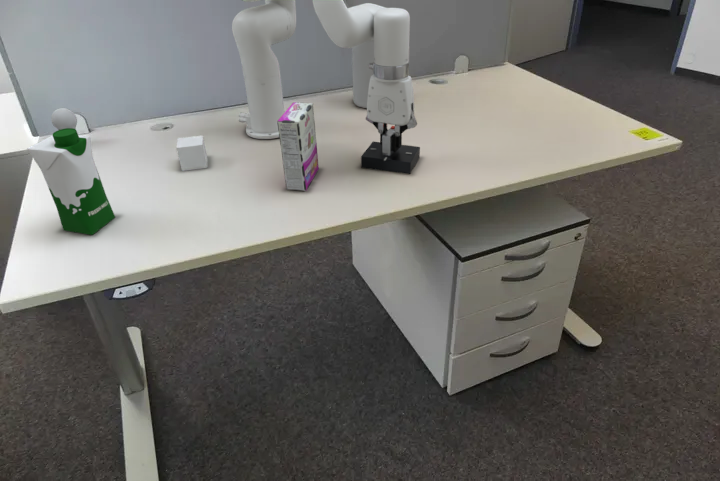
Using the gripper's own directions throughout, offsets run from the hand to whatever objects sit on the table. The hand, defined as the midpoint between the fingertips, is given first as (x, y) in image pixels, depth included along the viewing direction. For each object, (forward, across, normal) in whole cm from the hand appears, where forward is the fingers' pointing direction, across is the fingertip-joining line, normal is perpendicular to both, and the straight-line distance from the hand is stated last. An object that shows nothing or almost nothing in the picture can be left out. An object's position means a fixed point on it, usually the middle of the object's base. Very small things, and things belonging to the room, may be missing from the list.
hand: (390, 148), depth 123 cm
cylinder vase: (+4, -21, +37) cm, 43 cm away
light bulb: (+4, -83, -21) cm, 86 cm away
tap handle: (+1, 0, 0) cm, 1 cm away
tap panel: (+4, 0, 0) cm, 4 cm away
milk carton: (+4, -46, -49) cm, 67 cm away
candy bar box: (+4, -16, -16) cm, 22 cm away
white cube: (+4, -44, -18) cm, 48 cm away
